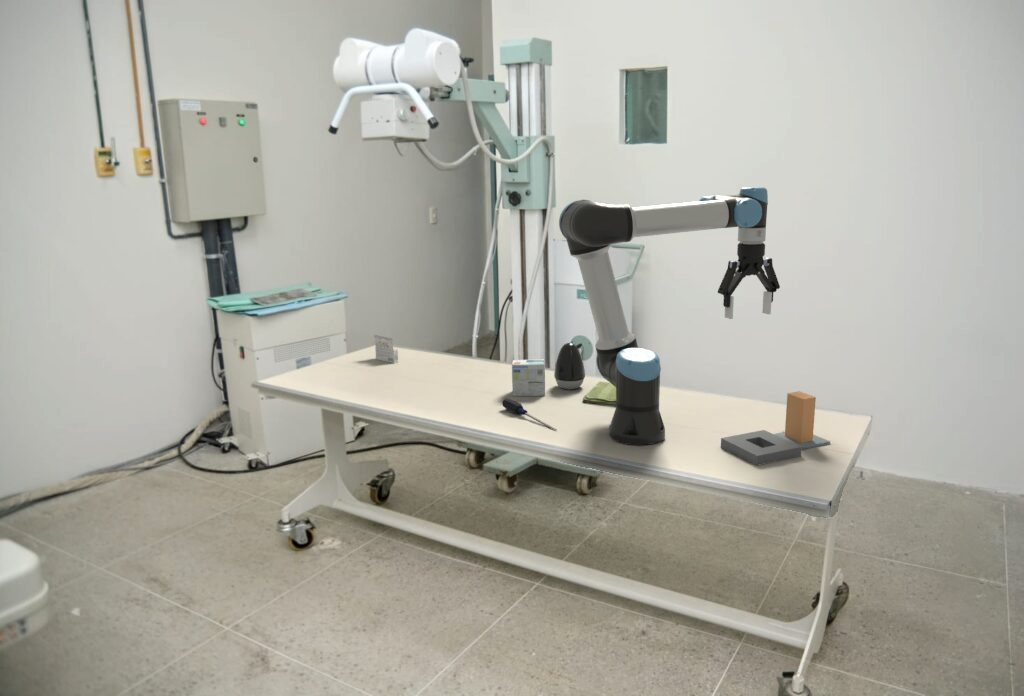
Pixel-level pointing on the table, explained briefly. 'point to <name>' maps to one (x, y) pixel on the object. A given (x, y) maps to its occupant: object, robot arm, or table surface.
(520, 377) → the light bulb box
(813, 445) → the rubber mat
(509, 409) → the screwdriver
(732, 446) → the gray slotted square plate
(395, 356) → the ink cartridge box
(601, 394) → the washcloth
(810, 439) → the plug
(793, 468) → the table surface
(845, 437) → the table surface
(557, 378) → the pump dispenser
